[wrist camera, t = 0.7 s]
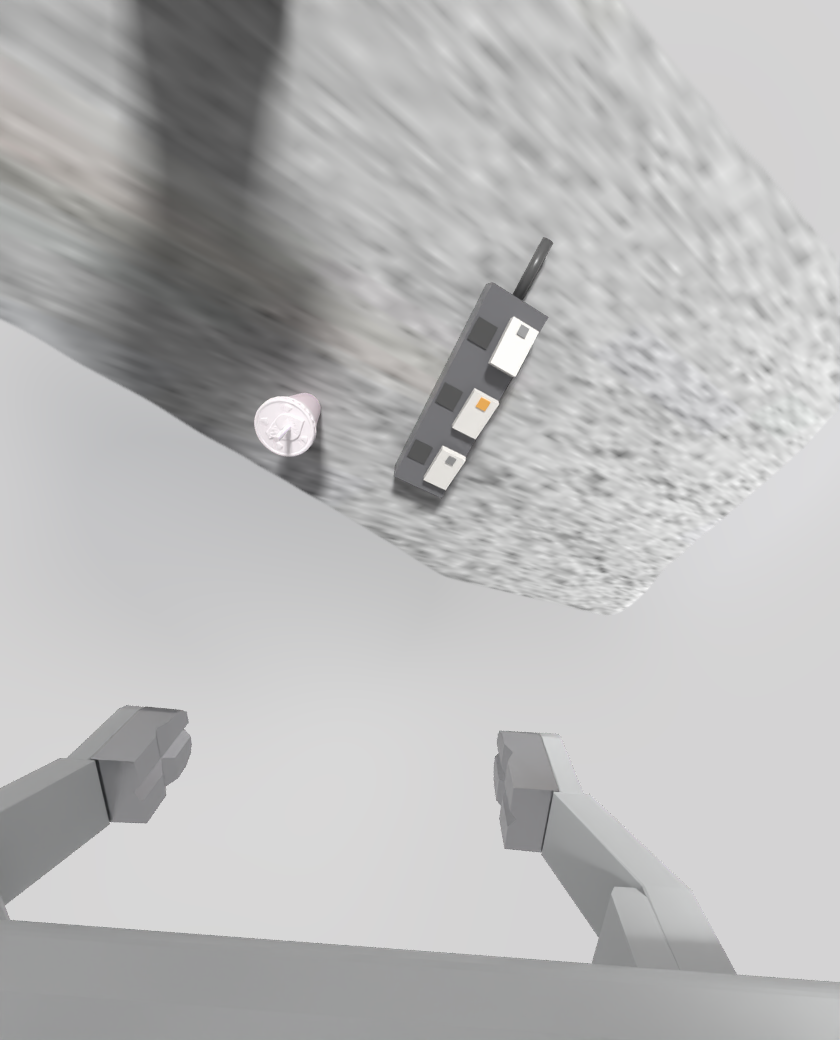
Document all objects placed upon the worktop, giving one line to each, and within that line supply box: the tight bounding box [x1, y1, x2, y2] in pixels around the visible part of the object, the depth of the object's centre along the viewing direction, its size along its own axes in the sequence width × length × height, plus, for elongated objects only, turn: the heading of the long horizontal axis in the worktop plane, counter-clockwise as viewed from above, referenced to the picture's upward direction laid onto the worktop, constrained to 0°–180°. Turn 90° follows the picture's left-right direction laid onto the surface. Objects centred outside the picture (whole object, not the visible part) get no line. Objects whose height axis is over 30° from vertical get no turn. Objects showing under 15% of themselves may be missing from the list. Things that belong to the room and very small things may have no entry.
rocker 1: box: [424, 446, 466, 490], centre depth 48 cm, size 5×3×1 cm, turn 153°
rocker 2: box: [452, 388, 499, 439], centre depth 45 cm, size 5×3×1 cm, turn 153°
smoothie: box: [254, 393, 321, 457], centre depth 43 cm, size 6×6×14 cm
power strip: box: [394, 237, 553, 498], centre depth 46 cm, size 30×7×4 cm, turn 153°
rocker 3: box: [488, 316, 539, 377], centre depth 41 cm, size 5×3×1 cm, turn 154°
